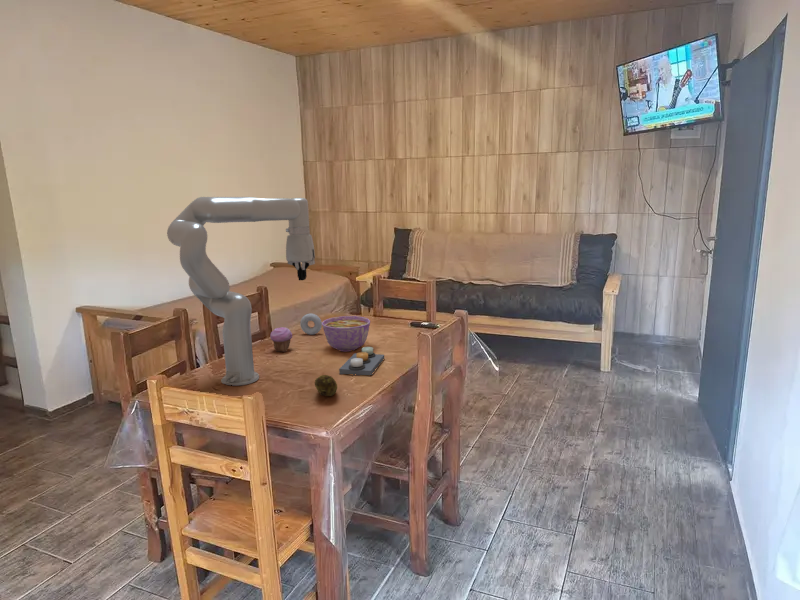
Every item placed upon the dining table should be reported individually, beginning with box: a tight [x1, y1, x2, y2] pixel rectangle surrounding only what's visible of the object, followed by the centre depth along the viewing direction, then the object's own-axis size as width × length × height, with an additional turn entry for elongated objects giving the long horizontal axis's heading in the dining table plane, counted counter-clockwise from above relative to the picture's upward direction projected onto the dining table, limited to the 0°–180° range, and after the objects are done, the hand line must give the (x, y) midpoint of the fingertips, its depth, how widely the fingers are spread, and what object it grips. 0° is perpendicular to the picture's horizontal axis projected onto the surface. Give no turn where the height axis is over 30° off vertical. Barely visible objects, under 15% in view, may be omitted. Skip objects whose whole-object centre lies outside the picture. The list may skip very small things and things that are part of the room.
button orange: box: [356, 351, 368, 361], centre depth 211 cm, size 4×4×2 cm
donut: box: [299, 312, 323, 336], centre depth 256 cm, size 10×4×10 cm, turn 85°
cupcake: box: [269, 326, 293, 353], centre depth 233 cm, size 9×9×10 cm
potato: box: [314, 374, 338, 397], centre depth 183 cm, size 8×13×8 cm, turn 171°
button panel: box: [338, 352, 385, 376], centre depth 212 cm, size 20×12×3 cm, turn 167°
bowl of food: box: [321, 315, 371, 352], centre depth 233 cm, size 20×20×12 cm
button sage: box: [361, 346, 374, 355], centre depth 218 cm, size 4×4×2 cm
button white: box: [351, 358, 363, 367], centre depth 204 cm, size 4×4×2 cm
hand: (302, 279), depth 214 cm, fingers closed
